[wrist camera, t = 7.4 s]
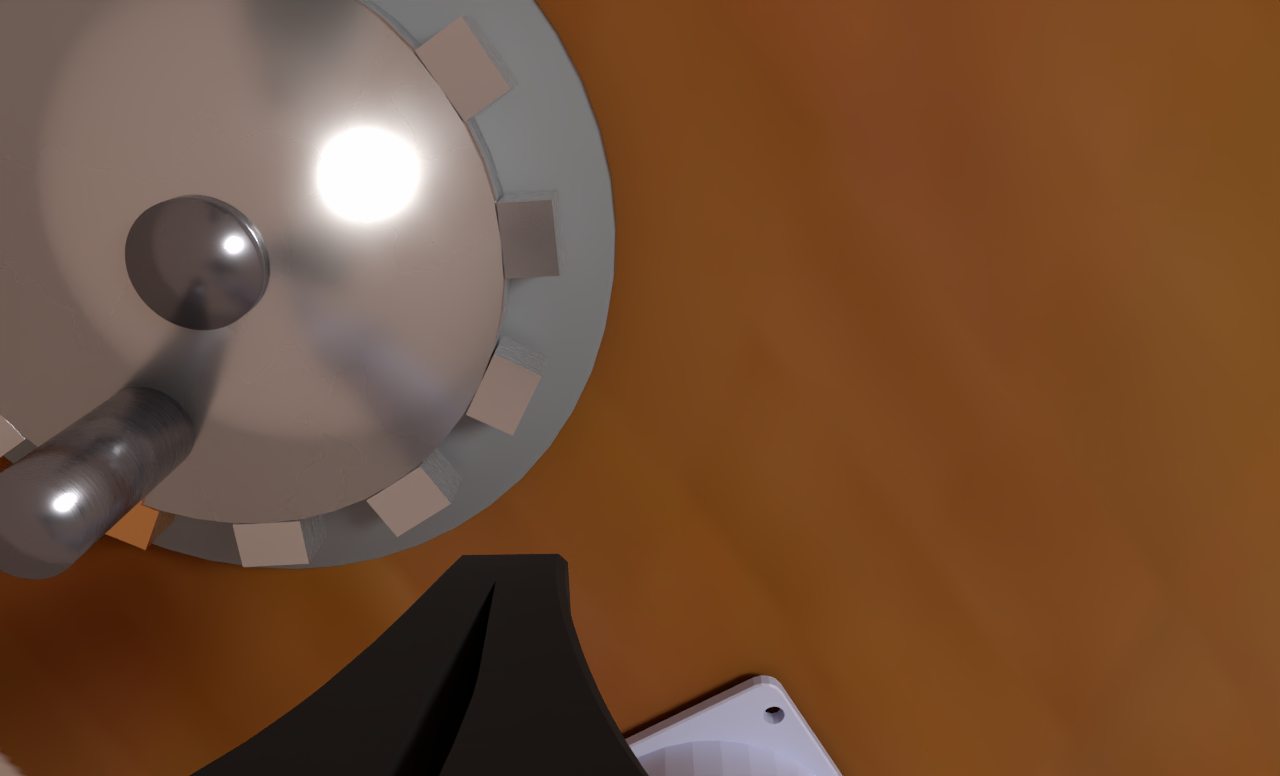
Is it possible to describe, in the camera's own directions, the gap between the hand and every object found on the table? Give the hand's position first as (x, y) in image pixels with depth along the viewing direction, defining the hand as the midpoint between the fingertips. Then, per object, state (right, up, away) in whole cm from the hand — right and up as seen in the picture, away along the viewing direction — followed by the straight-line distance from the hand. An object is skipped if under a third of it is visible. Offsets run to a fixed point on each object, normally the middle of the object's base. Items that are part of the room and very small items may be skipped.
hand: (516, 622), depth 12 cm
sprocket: (-6, +6, +7) cm, 11 cm away
